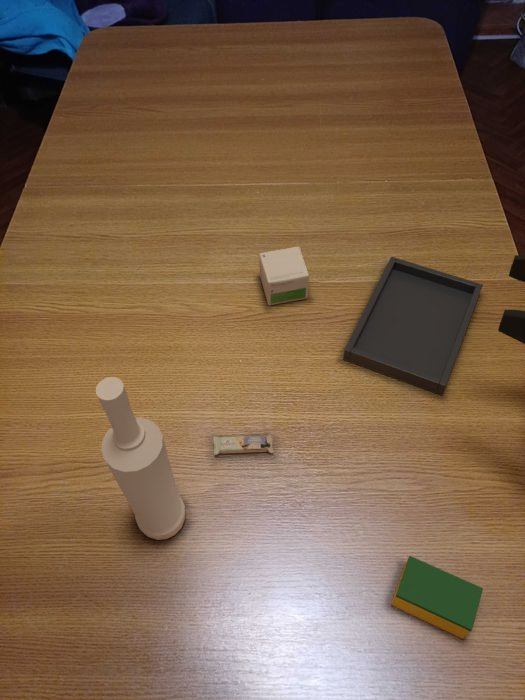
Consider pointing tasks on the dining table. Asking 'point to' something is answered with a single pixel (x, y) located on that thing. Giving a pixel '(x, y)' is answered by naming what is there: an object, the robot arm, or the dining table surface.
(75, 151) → the dining table surface
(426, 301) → the tray
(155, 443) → the bottle
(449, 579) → the sponge
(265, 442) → the granola bar
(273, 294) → the small box
